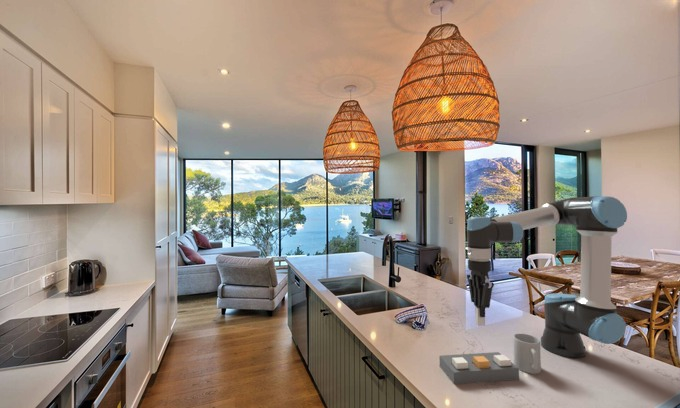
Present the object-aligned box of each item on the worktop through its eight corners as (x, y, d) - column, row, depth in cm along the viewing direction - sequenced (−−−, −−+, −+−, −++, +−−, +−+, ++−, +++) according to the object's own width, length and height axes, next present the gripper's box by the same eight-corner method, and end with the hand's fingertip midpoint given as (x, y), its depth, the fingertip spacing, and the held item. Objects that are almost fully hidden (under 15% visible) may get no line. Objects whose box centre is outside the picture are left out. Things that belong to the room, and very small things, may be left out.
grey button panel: (498, 362, 109) (498, 346, 109) (519, 379, 98) (518, 361, 98) (439, 366, 107) (439, 349, 107) (453, 384, 96) (453, 365, 96)
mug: (510, 360, 111) (509, 332, 111) (534, 362, 109) (533, 334, 109) (523, 378, 99) (523, 347, 99) (550, 381, 97) (550, 349, 97)
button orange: (483, 364, 102) (483, 355, 102) (489, 370, 99) (489, 361, 99) (473, 365, 102) (472, 356, 102) (478, 371, 98) (478, 361, 98)
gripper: (459, 256, 107) (460, 318, 107) (480, 263, 94) (481, 333, 94) (478, 256, 108) (479, 317, 107) (500, 262, 95) (502, 332, 94)
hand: (480, 324), depth 101 cm, fingers closed
